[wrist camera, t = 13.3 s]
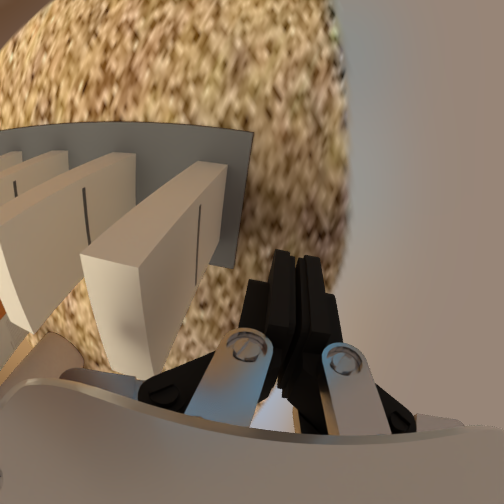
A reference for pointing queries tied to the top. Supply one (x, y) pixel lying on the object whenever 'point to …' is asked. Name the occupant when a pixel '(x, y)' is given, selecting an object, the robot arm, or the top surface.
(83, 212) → the domino
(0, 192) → the domino
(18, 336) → the small box
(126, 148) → the mat
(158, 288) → the domino
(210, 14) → the top surface
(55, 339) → the coffee cup
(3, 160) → the domino
